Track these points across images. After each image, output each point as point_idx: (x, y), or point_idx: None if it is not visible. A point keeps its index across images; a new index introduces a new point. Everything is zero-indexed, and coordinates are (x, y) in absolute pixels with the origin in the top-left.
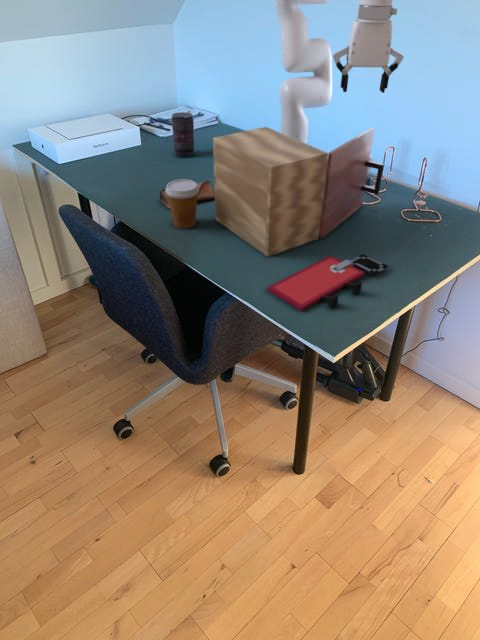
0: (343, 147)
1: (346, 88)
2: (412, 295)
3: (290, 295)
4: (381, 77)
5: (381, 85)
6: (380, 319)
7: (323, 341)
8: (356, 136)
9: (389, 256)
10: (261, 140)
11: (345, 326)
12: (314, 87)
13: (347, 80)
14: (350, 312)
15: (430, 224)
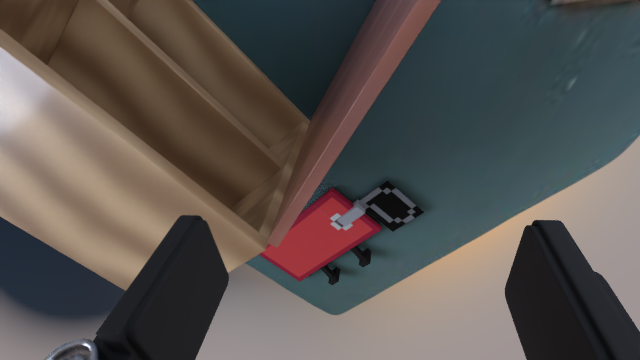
0: (310, 197)
1: (217, 297)
2: (440, 253)
3: (284, 265)
4: (582, 328)
5: (530, 304)
6: (387, 285)
7: (325, 306)
8: (368, 80)
9: (438, 169)
10: (38, 167)
11: (347, 292)
12: None
13: (192, 355)
14: (354, 276)
15: (611, 16)
